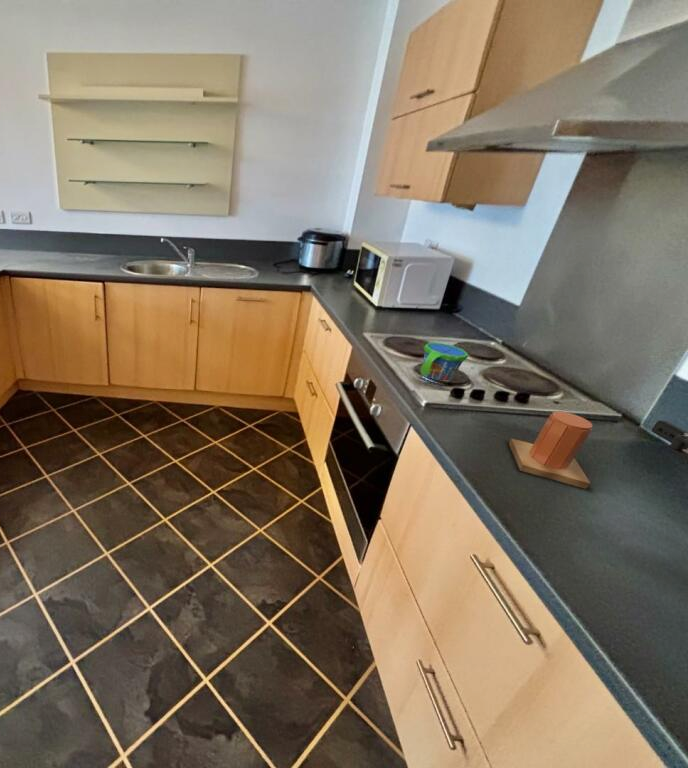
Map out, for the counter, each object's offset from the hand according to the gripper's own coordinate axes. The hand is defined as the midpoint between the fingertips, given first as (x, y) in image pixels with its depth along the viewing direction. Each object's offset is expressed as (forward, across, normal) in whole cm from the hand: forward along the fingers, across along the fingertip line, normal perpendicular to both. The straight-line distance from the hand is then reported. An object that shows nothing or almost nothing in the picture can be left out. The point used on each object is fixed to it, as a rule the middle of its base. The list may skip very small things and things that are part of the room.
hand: (682, 426), depth 65 cm
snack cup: (+54, +1, +21) cm, 58 cm away
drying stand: (+16, -1, +20) cm, 26 cm away
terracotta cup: (+15, 0, +19) cm, 24 cm away
